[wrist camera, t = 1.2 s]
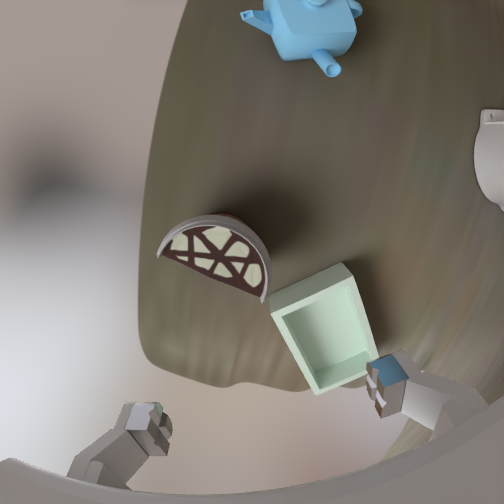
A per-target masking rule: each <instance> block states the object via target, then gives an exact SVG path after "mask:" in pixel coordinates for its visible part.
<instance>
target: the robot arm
mask: <svg viewBox="0 0 504 504" xmlns="http://www.w3.org/2000/svg"><path fill="white" fill-rule="evenodd" d="M474 164H475V171H476V176H477V179H478V183H479V185H480V187H481V190H482V191H483V193H484V195H485V196H486V197H487V198H488V199H489V200H490V201H492V202H494V203H496V204H498V205H499V206H500V208H501V209H502V211H503V212H504V110H494V109H483V110H482V111H481V117H480V129H479V131H478V134H477V137H476V141H475V147H474ZM366 370H367V372H368V376H367V377H366V386H367V391H368V394H369V396H370V398H371V399H372V400H374V401H375V408H376V410H377V412H378V414H379V416H380V418H384V417H387V416H390V415H392V414H395V413H397V412H400V411H401V413H403V414H405V415H406V416H408V417H410V418H412V419H414V420H415V421H417V422H419V423H421V424H423V425H424V426H426V427H428V428H430V429H432V430H433V433H432V435H431V438H430V440H429V441H428V442H426V443H424V444H422V445H420V446H417V447H415V448H413V449H411V450H409V451H406V452H404V453H402V454H399V455H397V456H394V457H392V458H389V459H387V460H384V461H382V462H379V463H377V464H374V465H371V466H368V467H365V468H362V469H359V470H356V471H353V472H349V473H346V474H342V475H339V476H335V477H332V478H328V479H324V480H319V481H315V482H311V483H306V484H302V485H296V486H291V487H285V488H279V489H273V490H265V491H257V492H247V493H236V494H217V495H181V494H162V493H150V492H141V491H133V490H131V489H130V488H129V487H128V486H126V485H125V484H126V483H127V481H128V480H129V479H130V478H131V477H132V476H133V475H134V474H135V473H136V471H137V470H138V469H139V468H140V467H141V466H142V465H143V463H144V462H145V461H146V460H147V459H148V458H149V456H167V454H168V450H169V445H170V444H169V442H168V441H167V439H169V438H170V437H171V436H172V423H171V420H170V418H169V416H168V415H167V414H165V413H163V407H162V405H161V404H160V403H158V402H142V403H141V402H139V403H138V402H136V403H126V404H124V406H123V408H122V410H121V413H120V415H119V418H118V420H117V422H116V425H115V427H114V430H113V429H111V430H109V431H108V432H107V433H105V434H104V435H103V436H102V437H100V438H99V439H98V440H96V441H95V442H94V443H93V444H91V445H90V446H88V447H87V448H86V449H85V450H83V451H82V452H80V453H79V454H78V455H76V456H75V458H74V460H73V462H72V465H71V467H70V469H69V472H68V474H67V476H62V475H59V474H56V473H52V472H49V471H46V470H43V469H41V468H37V467H35V466H32V465H30V464H27V463H24V462H22V461H20V460H17V459H14V458H8V459H6V460H3V461H1V462H0V504H504V395H503V396H502V397H500V398H499V399H498V400H496V401H495V402H493V403H492V404H491V405H488V404H487V403H486V401H485V400H484V399H483V398H482V397H481V395H480V394H479V393H478V392H477V391H476V390H475V388H474V387H472V386H469V385H465V384H462V383H459V382H456V381H452V380H449V379H446V378H443V377H440V376H437V375H434V374H431V373H427V372H423V373H422V372H421V371H420V370H419V369H418V367H417V366H416V365H415V363H414V362H413V361H412V360H411V358H410V357H409V356H408V355H407V354H406V352H405V351H404V350H402V349H401V350H399V351H396V352H394V353H391V354H388V355H386V356H383V357H380V358H377V359H375V360H372V361H369V362H367V364H366Z"/></svg>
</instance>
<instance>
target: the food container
mask: <svg viewBox="0 0 504 504" xmlns="http://www.w3.org/2000/svg"><path fill="white" fill-rule="evenodd" d="M157 255H158V257H157V258H159V257H160V256H162V255H164V256H166V257H168V258H170V259H173V260H175V261H178V262H180V263H182V264H184V265H186V266H188V267H190V268H192V269H194V270H196V271H198V272H200V273H202V274H204V275H206V276H208V277H210V278H212V279H215V280H218V281H220V282H223V283H226V284H229V285H231V286H234V287H236V288H239V289H241V290H244V291H246V292H248V293H251V294H253V295H256V296H258V297H260V300H261V303H263V301H265V298H266V296H267V294H268V291H269V287H270V283H271V276H272V268H271V261H270V257H269V254H268V252H267V249H266V247H265V245H264V244H263V242H262V241H261V239H260V238H259V237H258V236H257V235H256V234H255V233H254V231H252V230H251V229H250V228H249V226H248V225H247V224H246V223H245V222H244V221H243V220H241V219H240V218H238V217H236V216H234V215H231V214H227V213H215V214H210V215H202V216H196V217H193V218H190V219H187V220H185V221H183V222H181V223H180V224H178V225H177V226H176V227H174V228H173V229H172V230H171V231H170V232H169V233H168V234H167V235H166V237H165V238H164V240H163V241H162V243H161V245H160V247H159V249H158V253H157Z"/></svg>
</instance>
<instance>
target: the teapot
mask: <svg viewBox="0 0 504 504" xmlns="http://www.w3.org/2000/svg"><path fill="white" fill-rule="evenodd" d="M263 7H264V11H254V10H249V11H245V12H242V13H240V14H241V17H242V20H243V21H245V22H247V23H249V24H251V25H253V26H255V27H257V28H258V29H260V30H262V31H264V32H266V33H267V34H269V35H271V37H272V39H273V42H274V44H275V47H276V49H277V52H278V54H279V56H280V57H281V59H282V60H283V61H298V60H309V59H314V60H315V61H316V63H317V64H318V65H319V66H320V67H321V69H322V70H323V71H324V72H325V74H326V75H327V76H329V77H335V76H337V75H339V74H340V72H341V67H340V65H339V64H338V63H337V62H336V60H335V59H334V58H333V57H337V56H341V55H343V54H345V53H346V52H347V50H348V49H349V48H350V46H351V44H352V42H353V40H354V38H355V35H356V33H357V29H356V25H355V21H354V18H357V17H358V16H360V15H361V14H362V12H363V11H362V7H361V5H360V4H359V3H358V2H356V1H354V0H263Z"/></svg>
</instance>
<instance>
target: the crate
mask: <svg viewBox="0 0 504 504" xmlns="http://www.w3.org/2000/svg"><path fill="white" fill-rule="evenodd" d="M268 298H269V305H270V313H271V315H272V317H273V319H274V321H275V323H276V325H277V326H278V328H279V330H280V332H281V334H282V336H283V337H284V339H285V341H286V343H287V345H288V347H289V348H290V350H291V352H292V354H293V356H294V358H295V359H296V361H297V363H298V365H299V367H300V369H301V370H302V372H303V374H304V376H305V378H306V379H307V381H308V383H309V385H310V387H311V388H312V390H313V392H314V394H315V395H319V394H322V393H324V392H326V391H329V390H331V389H334V388H336V387H338V386H341V385H343V384H345V383H348V382H350V381H352V380H354V379H357V378H359V377H361V376H363V375H365V374H367V373H368V372H367V370H366V364H367V362H369V361H372V360H375V359H377V358H379V356H378V353H377V349H376V346H375V342H374V339H373V335H372V332H371V329H370V325H369V322H368V319H367V316H366V312H365V309H364V306H363V303H362V300H361V297H360V294H359V291H358V288H357V285H356V282H355V279H354V277H353V275H352V274H351V272H350V271H349V270H348V269H347V268H346V267H345V265H344V264H343V263H342V262H339V263H337V264H335V265H333V266H331V267H329V268H327V269H325V270H323V271H321V272H318V273H316V274H314V275H312V276H310V277H308V278H306V279H303V280H301V281H299V282H297V283H295V284H292V285H290V286H288V287H286V288H284V289H281V290H279V291H277V292H275V293H272V294H270V295H268Z"/></svg>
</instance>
